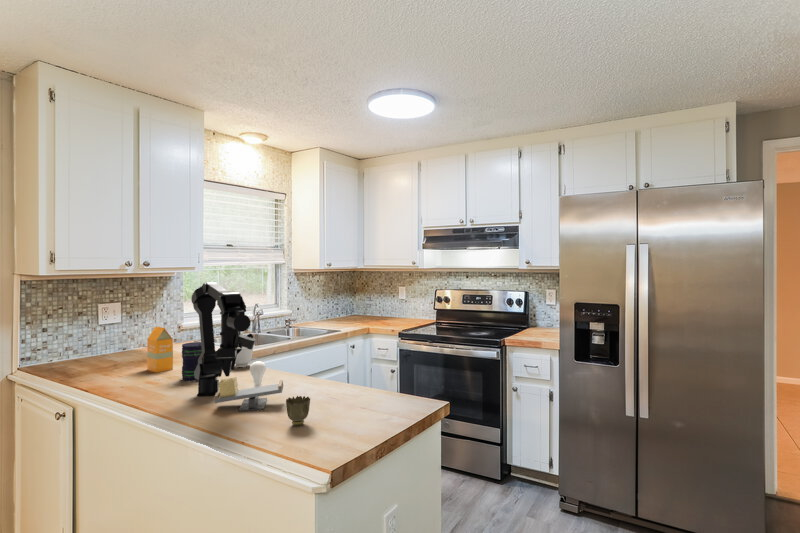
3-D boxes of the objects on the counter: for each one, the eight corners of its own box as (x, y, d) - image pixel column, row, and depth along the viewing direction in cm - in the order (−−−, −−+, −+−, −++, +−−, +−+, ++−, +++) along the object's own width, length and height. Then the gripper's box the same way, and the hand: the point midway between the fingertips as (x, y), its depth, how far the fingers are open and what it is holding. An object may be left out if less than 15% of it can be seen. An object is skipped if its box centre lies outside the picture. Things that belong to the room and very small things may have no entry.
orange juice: (163, 366, 213) (163, 325, 213) (173, 369, 208) (173, 327, 208) (146, 369, 207) (146, 327, 207) (156, 372, 202) (156, 329, 202)
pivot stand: (238, 411, 149) (238, 401, 149) (244, 400, 160) (244, 390, 160) (263, 410, 150) (263, 399, 150) (267, 399, 162) (267, 389, 162)
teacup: (226, 363, 219) (226, 343, 219) (257, 363, 221) (257, 343, 221) (218, 369, 207) (219, 348, 207) (251, 369, 209) (251, 347, 209)
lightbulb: (268, 387, 178) (269, 360, 178) (259, 391, 172) (259, 363, 172) (256, 386, 180) (256, 359, 180) (246, 390, 174) (246, 362, 174)
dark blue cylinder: (176, 380, 189) (176, 345, 189) (194, 374, 198) (194, 341, 198) (193, 382, 185) (193, 346, 185) (211, 376, 194) (211, 343, 194)
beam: (215, 403, 149) (214, 396, 149) (219, 396, 157) (219, 389, 157) (281, 392, 153) (281, 385, 153) (283, 386, 161) (282, 379, 161)
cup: (287, 420, 140) (287, 395, 140) (311, 420, 141) (311, 395, 141) (283, 429, 133) (283, 402, 133) (308, 428, 133) (308, 402, 133)
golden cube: (220, 397, 151) (218, 383, 151) (223, 393, 156) (221, 379, 156) (235, 395, 152) (234, 380, 152) (238, 391, 157) (236, 377, 157)
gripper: (250, 331, 146) (250, 378, 146) (257, 324, 165) (257, 366, 165) (214, 332, 144) (214, 380, 144) (225, 324, 162) (225, 367, 162)
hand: (229, 373), depth 154 cm, fingers open, 9 cm apart
